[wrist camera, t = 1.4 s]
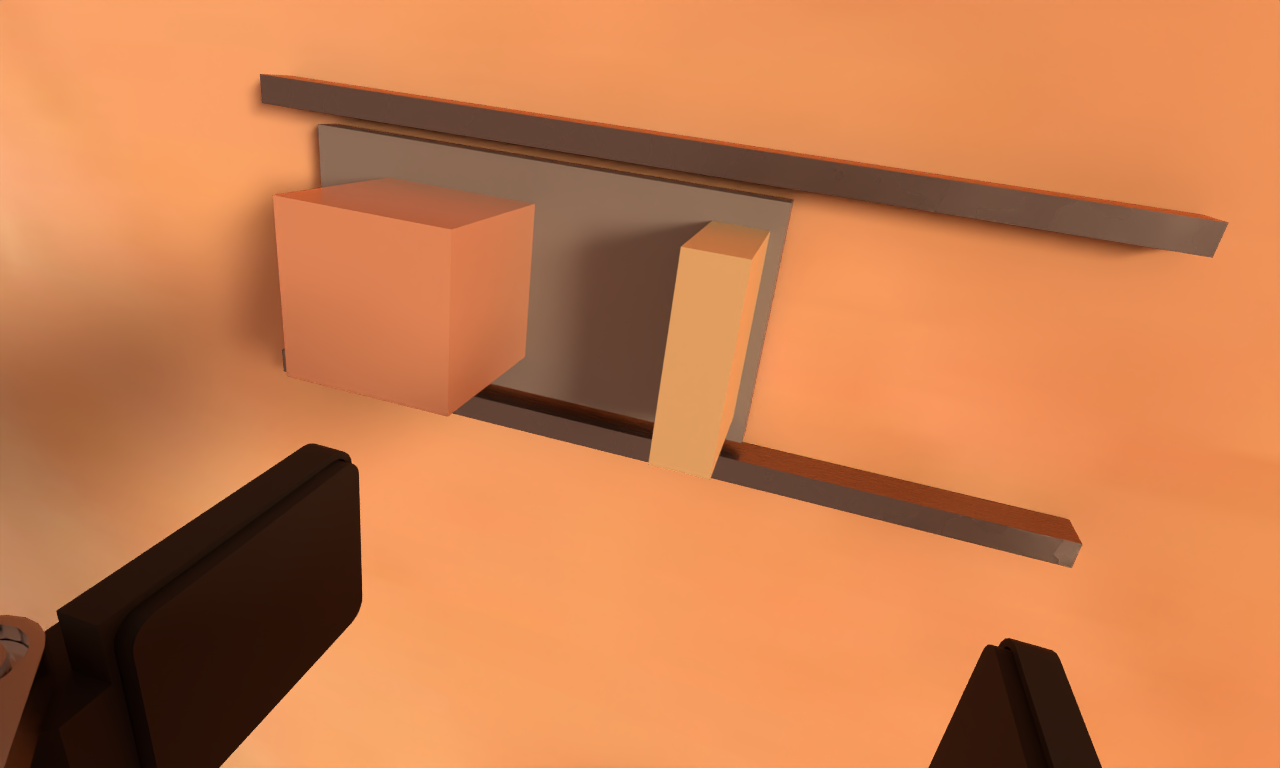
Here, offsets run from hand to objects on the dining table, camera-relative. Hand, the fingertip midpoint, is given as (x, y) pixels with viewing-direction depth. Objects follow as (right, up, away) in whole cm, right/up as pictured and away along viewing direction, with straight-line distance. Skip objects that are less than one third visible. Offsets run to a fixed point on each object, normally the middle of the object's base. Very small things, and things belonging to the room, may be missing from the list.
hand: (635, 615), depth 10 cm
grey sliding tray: (-4, +8, +17) cm, 19 cm away
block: (-7, +8, +17) cm, 20 cm away
